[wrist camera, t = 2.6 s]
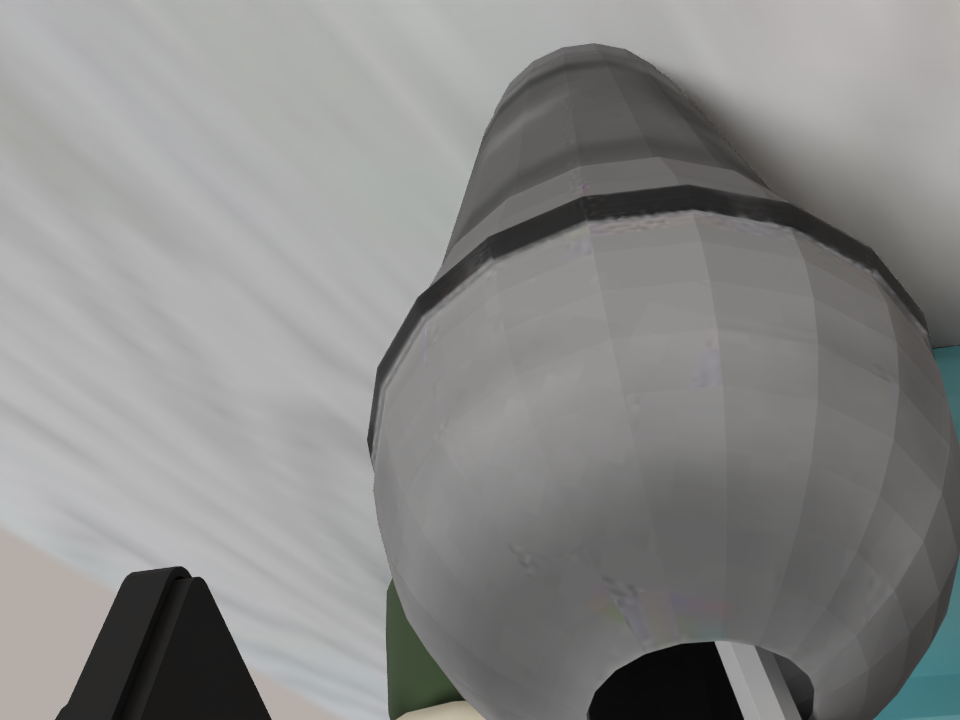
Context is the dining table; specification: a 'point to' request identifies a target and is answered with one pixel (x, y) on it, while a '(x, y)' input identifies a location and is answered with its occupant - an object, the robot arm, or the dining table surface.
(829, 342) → the beverage cup
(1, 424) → the dining table surface
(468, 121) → the dining table surface
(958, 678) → the tray
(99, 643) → the robot arm
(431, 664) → the character mug
